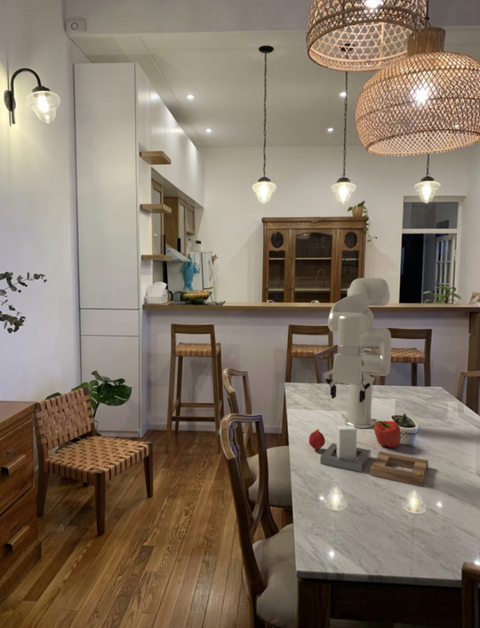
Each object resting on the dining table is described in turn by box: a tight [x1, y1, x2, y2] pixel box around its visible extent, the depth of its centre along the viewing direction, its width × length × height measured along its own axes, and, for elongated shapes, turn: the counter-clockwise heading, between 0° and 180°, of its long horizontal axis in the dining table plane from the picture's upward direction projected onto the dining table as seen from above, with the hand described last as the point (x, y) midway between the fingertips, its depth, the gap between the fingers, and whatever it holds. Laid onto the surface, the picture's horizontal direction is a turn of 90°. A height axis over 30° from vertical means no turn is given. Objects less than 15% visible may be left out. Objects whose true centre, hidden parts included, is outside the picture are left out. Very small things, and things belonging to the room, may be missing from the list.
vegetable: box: [373, 420, 402, 448], centre depth 171 cm, size 11×10×10 cm
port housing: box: [369, 451, 429, 487], centre depth 149 cm, size 16×16×3 cm
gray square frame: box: [319, 442, 372, 473], centre depth 158 cm, size 14×14×2 cm
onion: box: [308, 428, 326, 451], centre depth 167 cm, size 6×6×8 cm
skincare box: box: [336, 425, 357, 461], centre depth 157 cm, size 6×4×12 cm
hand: (347, 399), depth 156 cm, fingers open, 9 cm apart
